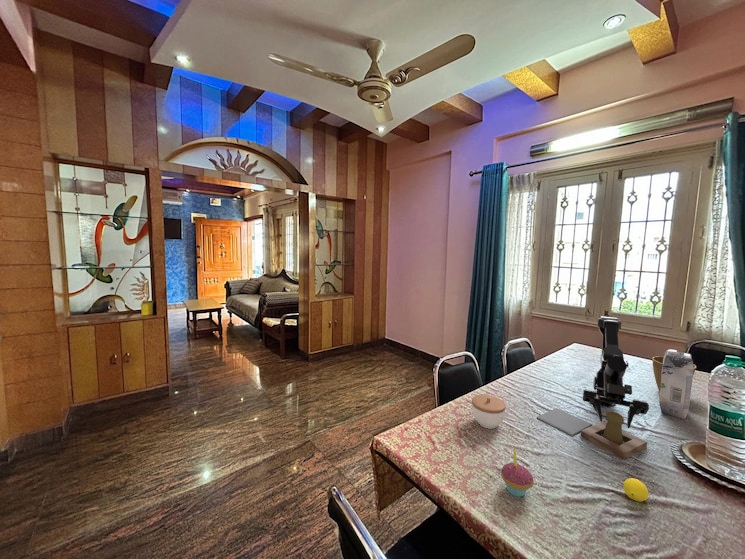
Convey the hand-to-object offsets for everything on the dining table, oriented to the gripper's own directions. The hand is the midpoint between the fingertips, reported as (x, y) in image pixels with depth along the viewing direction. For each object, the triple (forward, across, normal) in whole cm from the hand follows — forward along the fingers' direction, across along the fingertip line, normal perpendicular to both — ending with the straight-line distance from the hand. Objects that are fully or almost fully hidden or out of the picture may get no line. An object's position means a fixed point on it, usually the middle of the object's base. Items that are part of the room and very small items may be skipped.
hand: (614, 424), depth 109 cm
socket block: (+4, 0, +6) cm, 8 cm away
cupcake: (+35, -26, -24) cm, 49 cm away
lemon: (+24, +2, -13) cm, 28 cm away
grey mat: (0, -15, +11) cm, 19 cm away
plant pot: (-38, +28, +50) cm, 69 cm away
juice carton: (-23, +24, +34) cm, 48 cm away
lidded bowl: (+13, -41, -2) cm, 43 cm away
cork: (+5, 0, +6) cm, 8 cm away
